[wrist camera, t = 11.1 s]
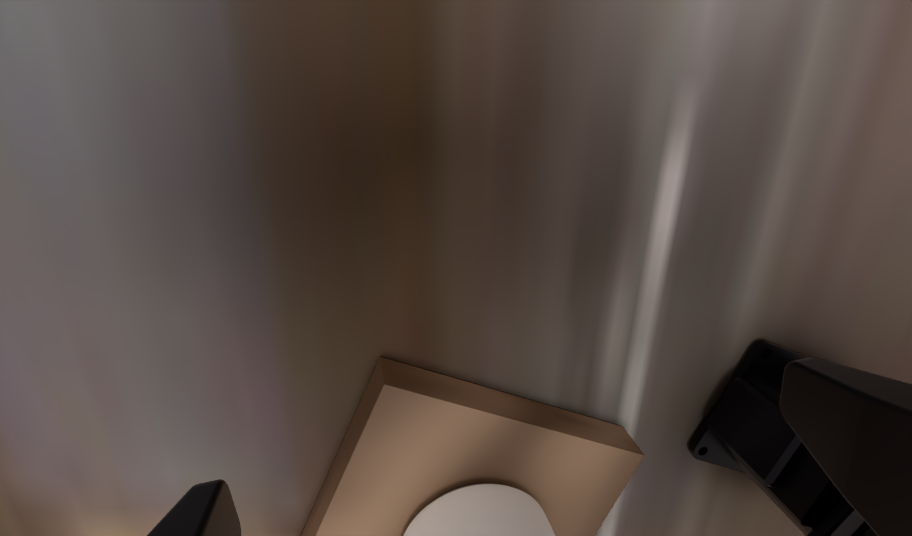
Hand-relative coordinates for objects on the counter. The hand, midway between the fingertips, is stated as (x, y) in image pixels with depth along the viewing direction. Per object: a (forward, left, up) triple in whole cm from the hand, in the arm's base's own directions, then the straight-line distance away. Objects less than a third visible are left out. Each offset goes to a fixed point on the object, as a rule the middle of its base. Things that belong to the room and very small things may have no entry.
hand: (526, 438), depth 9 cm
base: (-7, +12, -13) cm, 19 cm away
